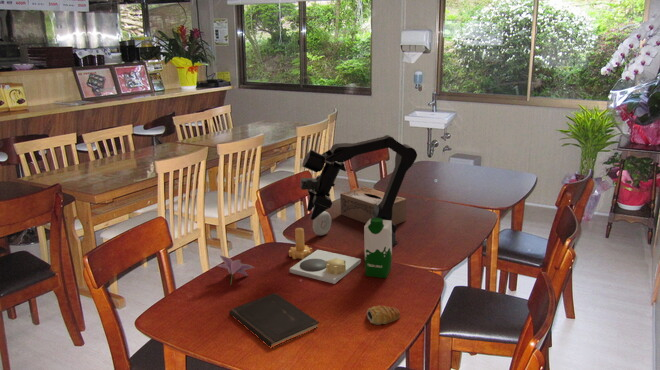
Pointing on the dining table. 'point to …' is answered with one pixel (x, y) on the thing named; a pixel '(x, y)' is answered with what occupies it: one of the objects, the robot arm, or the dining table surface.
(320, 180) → the robot arm
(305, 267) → the carrier plate
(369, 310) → the pastry
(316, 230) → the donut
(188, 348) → the dining table surface
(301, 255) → the planet gear
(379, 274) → the milk carton
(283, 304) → the hardcover book
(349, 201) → the tissue box cover
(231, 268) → the lily
